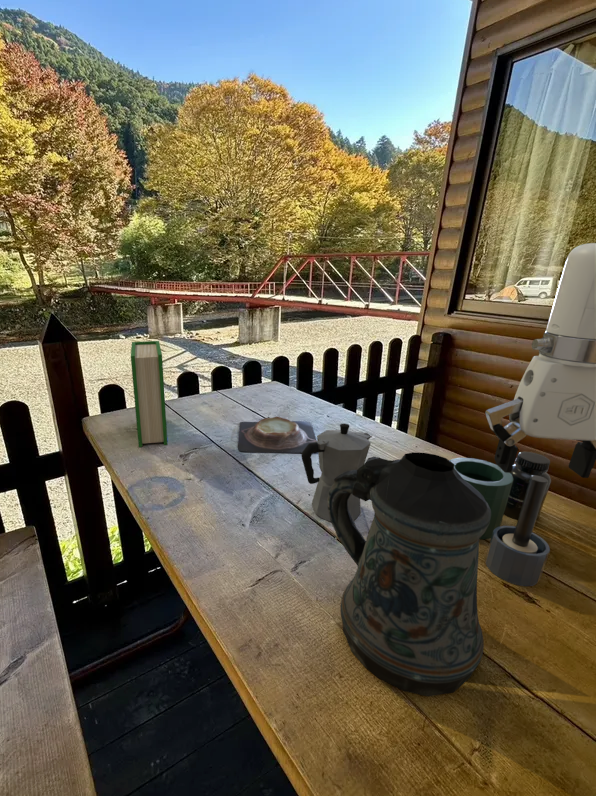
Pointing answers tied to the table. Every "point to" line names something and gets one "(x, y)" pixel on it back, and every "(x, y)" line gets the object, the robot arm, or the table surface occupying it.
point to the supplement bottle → (525, 481)
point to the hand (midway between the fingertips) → (539, 470)
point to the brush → (527, 517)
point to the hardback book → (149, 392)
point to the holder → (516, 559)
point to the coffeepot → (335, 464)
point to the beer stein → (413, 571)
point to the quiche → (275, 435)
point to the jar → (487, 486)
